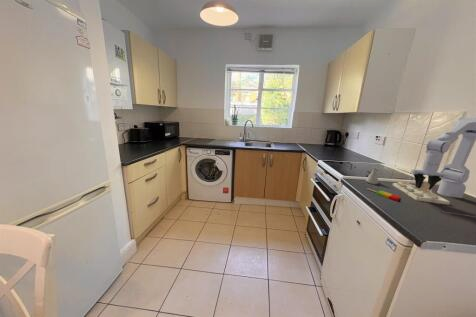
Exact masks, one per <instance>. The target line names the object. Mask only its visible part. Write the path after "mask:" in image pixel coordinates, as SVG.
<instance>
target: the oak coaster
mask: <svg viewBox="0 0 476 317" xmlns="http://www.w3.org/2000/svg"><path fill="white" fill-rule="evenodd" d="M397 183H399V184H406V185H413V184H412V183H409V182H405V181H398V182H397Z"/></svg>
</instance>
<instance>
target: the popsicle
mask: <svg viewBox="0 0 476 317" xmlns="http://www.w3.org/2000/svg"><path fill="white" fill-rule="evenodd" d="M366 190H368V191H371V192H374V193H375V194H376V195H377V196H380V197H384V198H386V199H389V200H391V201H394V202H398V201H400V200H401V196H399V195H396V194H394V193H393V194H392V193H390V192H387V191H384V190H379V191H377V190H373V189H371V188H366Z"/></svg>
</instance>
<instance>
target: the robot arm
mask: <svg viewBox="0 0 476 317" xmlns="http://www.w3.org/2000/svg"><path fill="white" fill-rule="evenodd" d="M460 135H462V137H461V140H460V142H459V144H458V147H457V149H456V151H455V154H454V155H453V158H452V160H451V163H448V164H445V165H443V166H442V168H441V169H440V171H439V168H440V166H441V163H442V160H443V158H444V154H446V153H447V152H448V151H449V150H450V148H451V146H452V145H453V143H455V142H456V141H458V139H459V136H460ZM475 142H476V118H475V117H459V118H457V119H456V120H455V122H454V126H453V128H452V129H451V130H450V131H445V132H443V133H442V134H440V136H438V137H437V138H435V139H431V140H429V141H428V142H427V144H426V150H425V151H426V152H425V153H426V156H425V159H424V161H423V163H422V167H421V169H411V170H410V173H411V174H413V177H414V180H415V186H416V187H417V188H420V187H421V185H422V182H423V181H425V179H426V178H427V177H428V178H427V182H428V183H429V184H430V187H429V190H431V189H432V190H433V187H434V186H435V185H436V184H437V183H439V182H440V183H439V186H438V189H437V191H436V193H437V194H439V195H441V196H444V197H449V198H458V199H462V198H463V197H464V195H465V192H466V188H467V186H466V184H465V183H467V181H468V180H469V177H470V173H471V172H470V171H471V170H470V169H469V168H467V166H465V164H466V162H467V160H468V158H469V156H470V153H471V152H472V149H473V147H474V145H475ZM438 171H439V172H438ZM426 176H427V177H426Z"/></svg>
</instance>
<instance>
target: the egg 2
mask: <svg viewBox="0 0 476 317" xmlns="http://www.w3.org/2000/svg"><path fill="white" fill-rule="evenodd" d="M420 192H421V193H423V194H430V195H431V192H432V193H433V188H432V189H431V190H428V192H422V191H420Z"/></svg>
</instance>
